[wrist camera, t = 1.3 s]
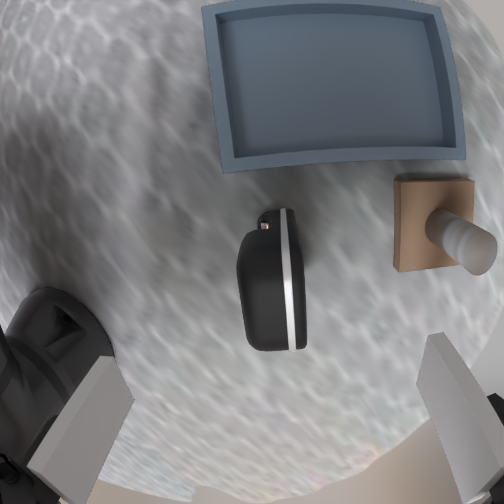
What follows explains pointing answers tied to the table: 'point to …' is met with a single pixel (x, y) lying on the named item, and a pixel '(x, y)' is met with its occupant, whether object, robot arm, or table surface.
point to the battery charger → (273, 284)
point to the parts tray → (331, 82)
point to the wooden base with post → (439, 227)
